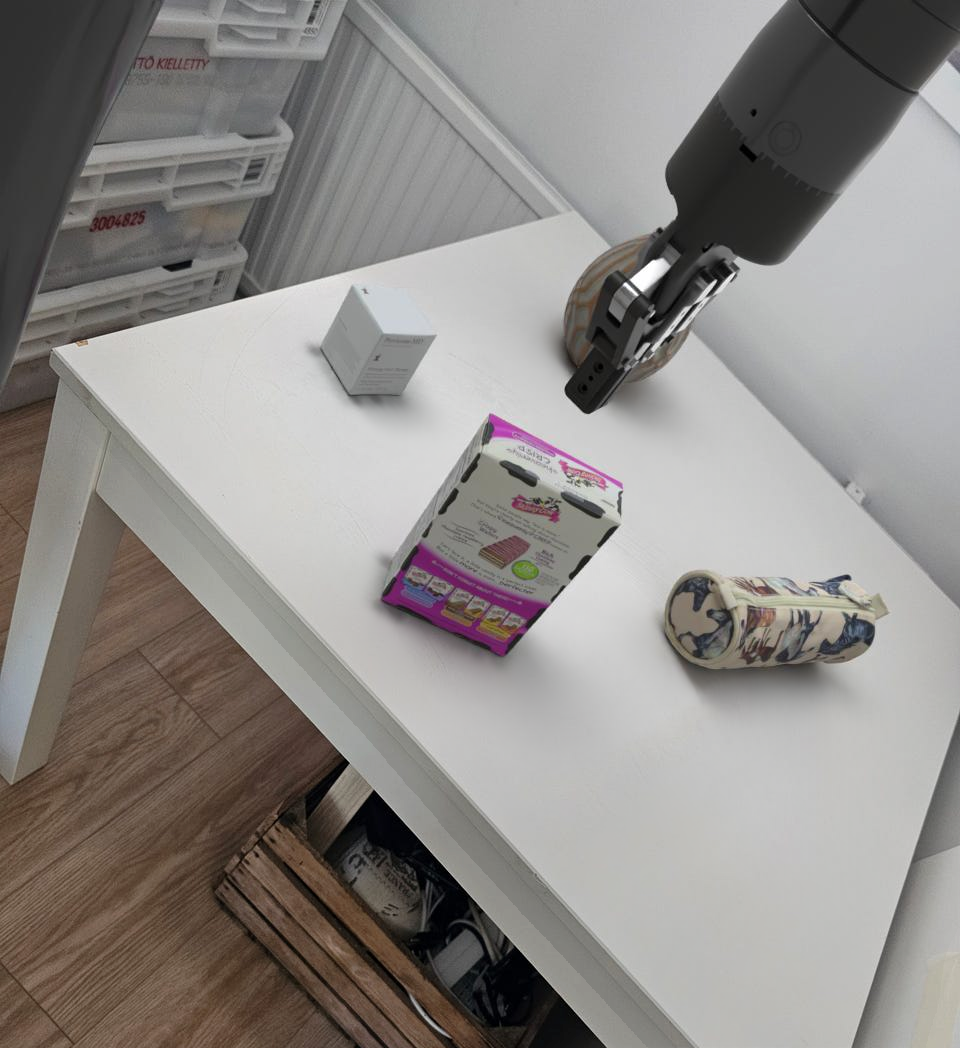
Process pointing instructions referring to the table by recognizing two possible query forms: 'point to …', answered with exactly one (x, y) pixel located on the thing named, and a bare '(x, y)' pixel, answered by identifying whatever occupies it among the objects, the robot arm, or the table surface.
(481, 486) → the candy bar box
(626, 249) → the vase
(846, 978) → the table surface
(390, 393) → the product box
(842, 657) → the pencil case
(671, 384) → the table surface
